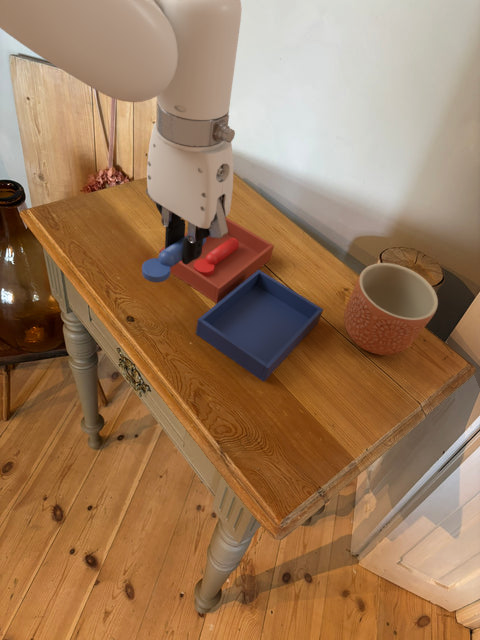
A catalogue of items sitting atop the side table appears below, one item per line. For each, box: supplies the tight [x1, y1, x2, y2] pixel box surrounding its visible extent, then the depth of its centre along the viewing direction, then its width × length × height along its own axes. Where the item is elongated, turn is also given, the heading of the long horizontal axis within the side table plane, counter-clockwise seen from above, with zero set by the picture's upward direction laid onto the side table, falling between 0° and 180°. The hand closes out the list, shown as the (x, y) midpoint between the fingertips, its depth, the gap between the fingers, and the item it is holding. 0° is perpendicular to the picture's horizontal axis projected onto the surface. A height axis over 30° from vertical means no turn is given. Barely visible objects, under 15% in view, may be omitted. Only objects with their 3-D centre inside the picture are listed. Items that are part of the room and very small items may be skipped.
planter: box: [343, 262, 439, 356], centre depth 74 cm, size 12×12×11 cm
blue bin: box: [195, 269, 324, 382], centre depth 74 cm, size 13×16×4 cm
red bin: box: [158, 216, 275, 304], centre depth 83 cm, size 13×16×4 cm
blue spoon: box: [141, 235, 206, 283], centre depth 61 cm, size 11×4×2 cm, turn 143°
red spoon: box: [194, 238, 239, 276], centre depth 83 cm, size 11×4×2 cm, turn 143°
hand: (182, 252), depth 63 cm, fingers closed on blue spoon, 2 cm apart
